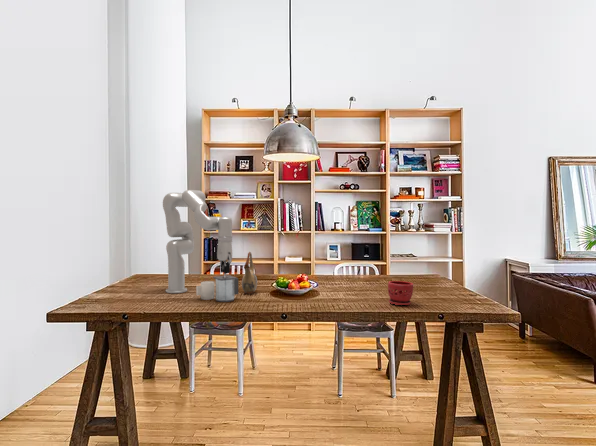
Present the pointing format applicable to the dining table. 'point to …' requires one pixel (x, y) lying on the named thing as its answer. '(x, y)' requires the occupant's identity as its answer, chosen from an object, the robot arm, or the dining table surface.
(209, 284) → the mug
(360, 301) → the dining table surface
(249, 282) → the ceramic vessel
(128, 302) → the dining table surface
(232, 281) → the press carafe
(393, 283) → the plant pot
